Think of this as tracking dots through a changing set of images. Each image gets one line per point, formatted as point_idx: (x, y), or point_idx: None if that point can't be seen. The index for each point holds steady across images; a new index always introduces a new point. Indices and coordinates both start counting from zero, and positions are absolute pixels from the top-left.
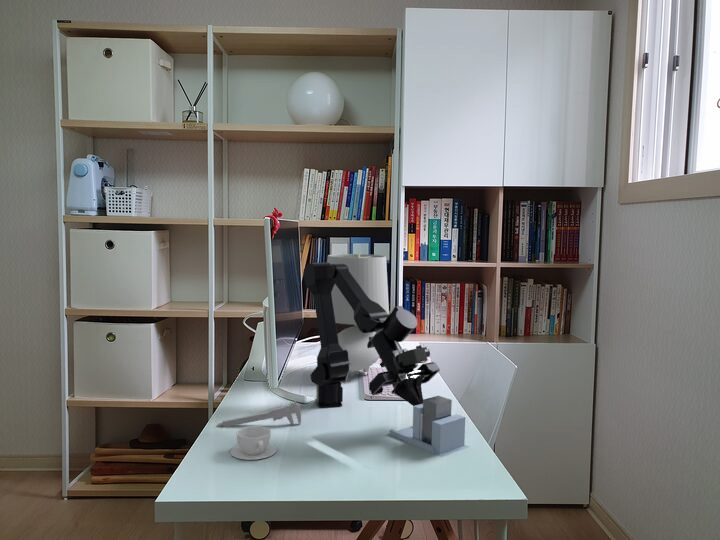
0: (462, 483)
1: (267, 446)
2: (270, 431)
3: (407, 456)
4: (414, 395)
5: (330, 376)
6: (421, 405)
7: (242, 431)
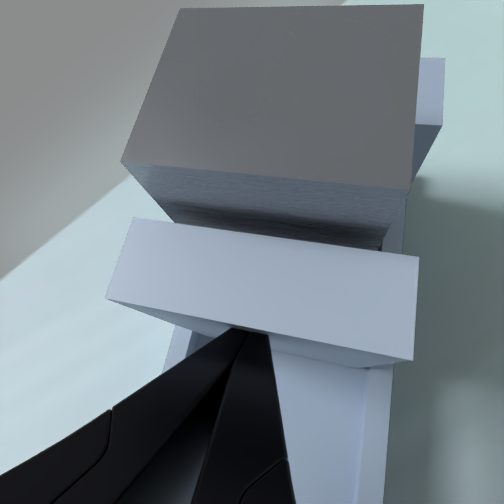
0: (493, 42)
1: None
2: None
3: (478, 310)
4: (275, 455)
5: None
6: (317, 300)
7: None
